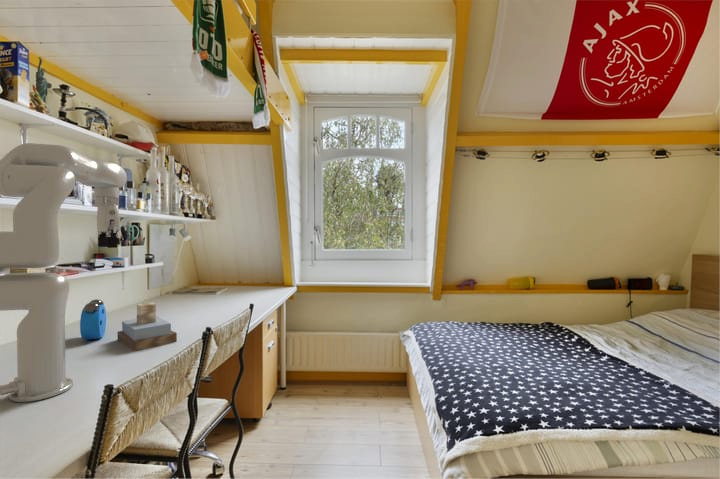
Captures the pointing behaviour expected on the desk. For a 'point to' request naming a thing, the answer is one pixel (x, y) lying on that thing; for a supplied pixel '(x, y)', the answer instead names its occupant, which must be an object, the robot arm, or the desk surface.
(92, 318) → the alarm clock
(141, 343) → the walnut slab
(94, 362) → the desk surface
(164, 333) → the slate slab
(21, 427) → the desk surface
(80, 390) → the desk surface
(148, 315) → the beech block
